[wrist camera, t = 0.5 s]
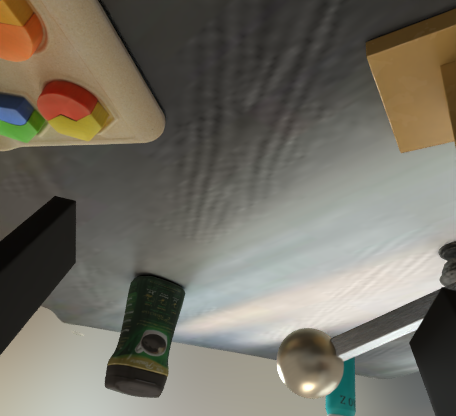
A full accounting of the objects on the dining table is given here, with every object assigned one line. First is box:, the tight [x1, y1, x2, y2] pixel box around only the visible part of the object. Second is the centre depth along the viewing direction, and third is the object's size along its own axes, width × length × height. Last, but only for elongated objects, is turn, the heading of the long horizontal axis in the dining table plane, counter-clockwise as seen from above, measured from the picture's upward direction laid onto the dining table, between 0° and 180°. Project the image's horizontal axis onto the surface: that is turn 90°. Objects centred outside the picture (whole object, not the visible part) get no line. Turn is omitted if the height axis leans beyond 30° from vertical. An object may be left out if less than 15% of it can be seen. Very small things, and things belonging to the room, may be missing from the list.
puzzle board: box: [0, 0, 165, 151], centre depth 30 cm, size 18×19×4 cm
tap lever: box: [277, 282, 456, 399], centre depth 20 cm, size 15×4×4 cm, turn 120°
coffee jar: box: [105, 276, 185, 398], centre depth 67 cm, size 10×8×19 cm
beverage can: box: [326, 357, 356, 416], centre depth 81 cm, size 6×6×15 cm
